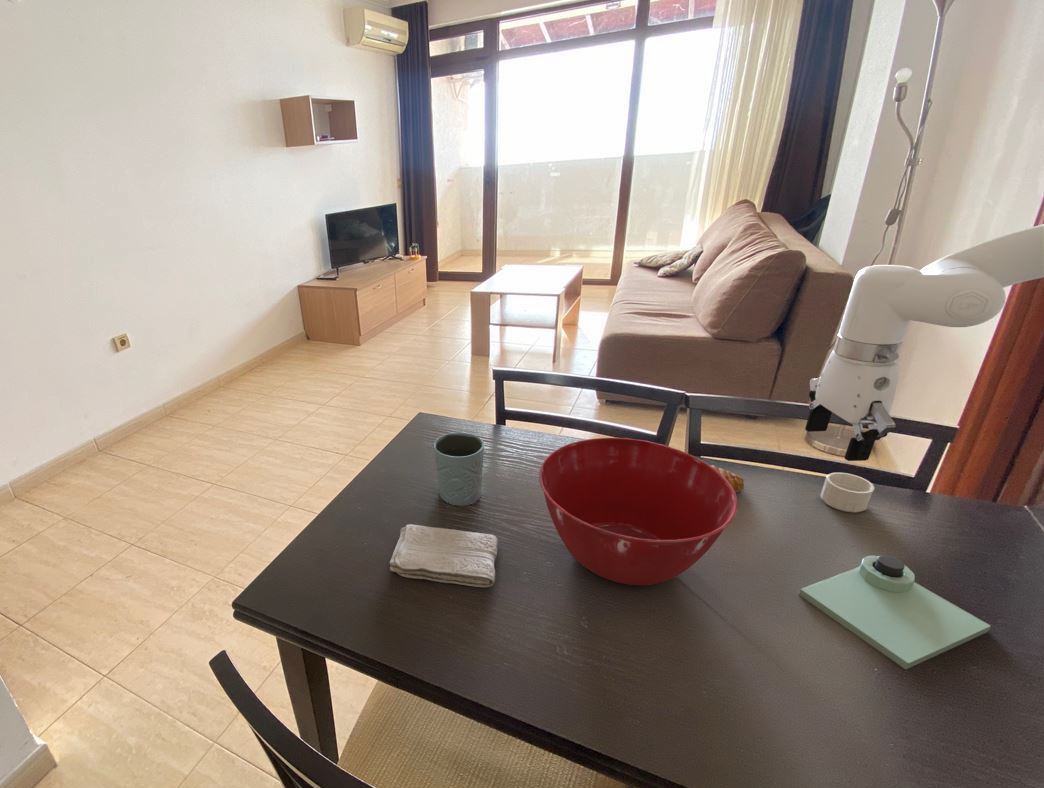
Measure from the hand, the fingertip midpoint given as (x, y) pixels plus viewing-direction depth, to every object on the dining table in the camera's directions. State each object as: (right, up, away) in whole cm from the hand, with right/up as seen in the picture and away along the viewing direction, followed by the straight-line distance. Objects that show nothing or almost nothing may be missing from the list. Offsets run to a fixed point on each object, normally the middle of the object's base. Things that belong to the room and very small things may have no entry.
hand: (834, 444), depth 90 cm
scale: (-3, -23, -13) cm, 27 cm away
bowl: (+10, -12, +10) cm, 18 cm away
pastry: (-10, -10, +18) cm, 23 cm away
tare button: (0, -18, -9) cm, 21 cm away
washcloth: (-65, -21, +5) cm, 68 cm away
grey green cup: (-60, -12, +22) cm, 65 cm away
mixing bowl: (-35, -19, +2) cm, 40 cm away
